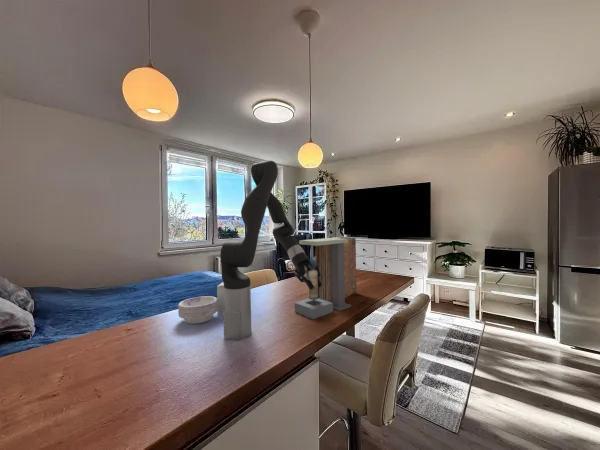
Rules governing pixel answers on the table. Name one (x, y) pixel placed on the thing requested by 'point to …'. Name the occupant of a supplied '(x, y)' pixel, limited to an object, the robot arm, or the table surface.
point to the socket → (313, 307)
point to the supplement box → (220, 298)
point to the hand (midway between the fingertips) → (316, 287)
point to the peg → (314, 279)
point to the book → (325, 269)
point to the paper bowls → (198, 309)
